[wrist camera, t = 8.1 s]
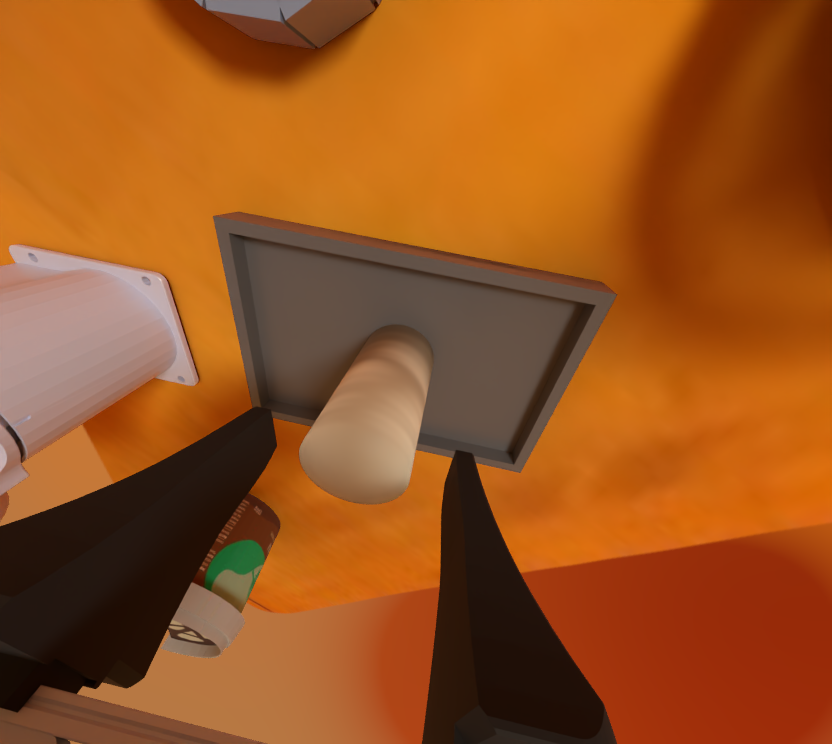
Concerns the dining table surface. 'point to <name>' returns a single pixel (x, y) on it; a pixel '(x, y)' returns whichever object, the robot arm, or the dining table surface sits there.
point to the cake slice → (224, 583)
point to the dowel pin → (372, 420)
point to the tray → (414, 307)
